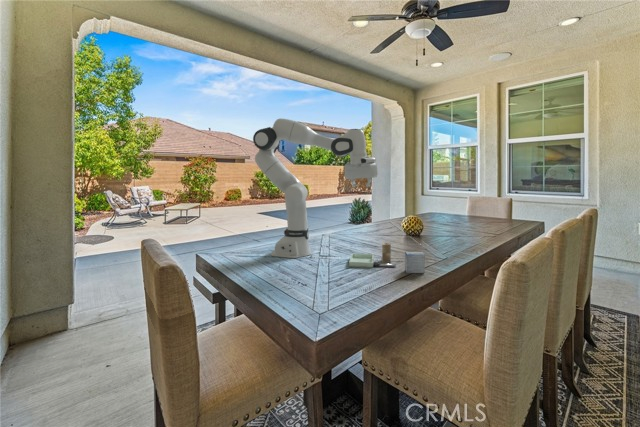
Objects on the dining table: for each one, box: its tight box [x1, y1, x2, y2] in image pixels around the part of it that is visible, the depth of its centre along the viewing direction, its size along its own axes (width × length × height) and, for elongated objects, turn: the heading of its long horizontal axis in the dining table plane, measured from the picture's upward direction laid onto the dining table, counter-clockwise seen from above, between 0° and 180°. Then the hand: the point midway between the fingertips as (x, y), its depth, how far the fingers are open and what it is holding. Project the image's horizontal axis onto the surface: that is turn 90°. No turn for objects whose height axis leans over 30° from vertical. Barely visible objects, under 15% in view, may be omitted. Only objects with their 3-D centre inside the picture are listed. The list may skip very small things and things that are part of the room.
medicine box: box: [404, 251, 426, 274], centre depth 136 cm, size 8×4×9 cm, turn 84°
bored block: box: [381, 242, 392, 264], centre depth 153 cm, size 4×4×9 cm
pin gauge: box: [373, 261, 397, 268], centre depth 145 cm, size 10×2×2 cm, turn 79°
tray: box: [348, 253, 375, 269], centre depth 151 cm, size 11×15×2 cm
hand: (361, 186), depth 161 cm, fingers open, 8 cm apart
